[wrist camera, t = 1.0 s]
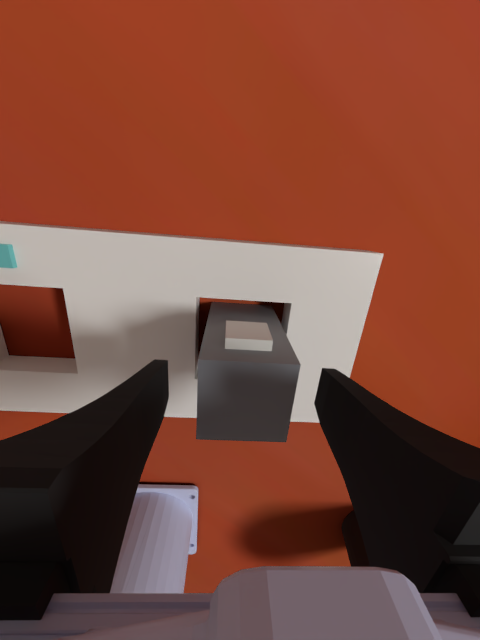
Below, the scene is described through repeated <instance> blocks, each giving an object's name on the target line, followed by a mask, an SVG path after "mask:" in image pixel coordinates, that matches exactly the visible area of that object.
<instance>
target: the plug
mask: <svg viewBox="0 0 480 640" xmlns="http://www.w3.org/2000/svg"><path fill="white" fill-rule="evenodd" d="M300 366H301V364H300V362H299V360H298V358H297V356H296V354H295V352H294V350H293V348H292V346H291V344H290V342H289V340H288V338H287V336H286V334H285V332H284V330H283V327H282V325H281V323H280V321H279V319H278V317H277V315H276V313H275V311H274V309H273V307H272V306H270V305H255V304H239V303H224V302H212V303H211V307H210V311H209V315H208V319H207V324H206V328H205V332H204V336H203V341H202V345H201V349H200V353H199V357H198V383H197V430H196V439H205V440H236V441H268V442H286V440H287V435H288V429H289V424H290V419H291V413H292V408H293V403H294V398H295V392H296V387H297V382H298V376H299V371H300Z"/></svg>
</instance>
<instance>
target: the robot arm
mask: <svg viewBox="0 0 480 640" xmlns="http://www.w3.org/2000/svg"><path fill="white" fill-rule="evenodd" d="M168 399H169V381H168V360H157V359H154V360H153V361H151V362H150V363H149V364H147V365H146V366H145V367H143V368H142V369H141V370H139V371H138V372H137V373H135V374H134V375H133V376H131V377H130V378H129V379H127V380H126V381H124V382H123V383H121V384H120V385H118V386H117V387H115V388H114V389H112V390H111V391H109V392H108V393H106V394H105V395H103V396H101V397H100V398H98V399H96V400H94V401H93V402H91V403H89V404H87V405H85V406H83V407H81V408H79V409H77V410H75V411H73V412H71V413H69V414H67V415H65V416H62V417H60V418H58V419H56V420H54V421H51V422H49V423H47V424H44V425H42V426H39V427H37V428H34V429H32V430H29V431H26V432H24V433H21V434H18V435H15V436H13V437H10V438H7V439H4V440H1V441H0V640H480V448H478V447H475V446H472V445H470V444H467V443H465V442H463V441H460V440H458V439H455V438H453V437H451V436H449V435H446V434H444V433H442V432H440V431H438V430H436V429H433V428H431V427H429V426H427V425H425V424H423V423H421V422H419V421H417V420H416V419H414V418H412V417H410V416H408V415H406V414H404V413H403V412H401V411H399V410H397V409H396V408H394V407H392V406H391V405H389V404H388V403H386V402H384V401H383V400H381V399H380V398H378V397H377V396H375V395H374V394H372V393H371V392H369V391H368V390H366V389H365V388H363V387H362V386H360V385H359V384H357V383H356V382H355V381H353V380H352V379H350V378H349V377H347V376H346V375H344V374H343V373H341V372H340V371H338V370H336V369H332V368H322V371H321V375H320V380H319V384H318V388H317V393H316V397H315V401H314V405H315V408H316V412H317V416H318V419H319V422H320V425H321V427H322V430H323V432H324V434H325V436H326V439H327V441H328V443H329V445H330V448H331V450H332V452H333V454H334V457H335V459H336V461H337V463H338V466H339V468H340V470H341V473H342V475H343V478H344V481H345V484H346V487H347V490H348V493H349V496H350V499H351V502H352V505H353V508H354V511H355V515H356V518H357V521H358V525H359V528H360V531H361V535H362V538H363V542H364V546H365V549H366V553H367V556H368V560H369V564H370V567H320V566H263V567H256V568H249V569H243V570H240V571H238V572H236V573H234V574H232V575H230V576H228V577H226V578H224V579H223V580H222V581H221V582H220V583H219V585H218V586H217V588H216V590H215V592H214V593H183V592H184V584H185V576H186V569H187V561H188V554H195V553H196V550H197V522H198V488H197V487H196V486H193V485H152V484H139V481H140V478H141V474H142V472H143V469H144V466H145V463H146V461H147V458H148V456H149V453H150V451H151V448H152V446H153V443H154V441H155V438H156V436H157V433H158V431H159V428H160V425H161V423H162V420H163V418H164V414H165V411H166V407H167V403H168Z"/></svg>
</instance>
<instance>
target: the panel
mask: <svg viewBox="0 0 480 640" xmlns="http://www.w3.org/2000/svg"><path fill="white" fill-rule="evenodd" d="M382 258H383V254H382V253H377V252H372V251H368V250H356V249H343V248H331V247H318V246H306V245H293V244H281V243H268V242H256V241H243V240H231V239H218V238H205V237H193V236H180V235H168V234H155V233H143V232H130V231H118V230H105V229H93V228H80V227H68V226H55V225H42V224H30V223H17V222H5V221H0V284H6V285H21V286H36V287H51V288H63V291H64V297H65V303H66V308H67V314H68V320H69V325H70V331H71V337H72V342H73V348H74V354H75V359H73V358H54V357H34V356H14V355H9V354H8V350H7V347H6V343H5V339H4V336H3V332H2V329H1V325H0V410H1V411H27V412H54V413H71V412H73V411H75V410H77V409H79V408H81V407H83V406H85V405H87V404H89V403H91V402H93V401H94V400H96V399H98V398H100V397H101V396H103V395H105V394H106V393H108V392H109V391H111V390H112V389H114V388H115V387H117V386H118V385H120V384H121V383H123V382H124V381H126V380H127V379H129V378H130V377H131V376H133V375H134V374H135V373H137V372H138V371H139V370H141V369H142V368H143V367H145V366H146V365H147V364H149V363H150V362H151V361H153V360H154V359H157V360H168V381H169V399H168V403H167V407H166V411H165V414H164V417H187V418H197V383H198V343H199V297H203V298H219V299H234V300H249V301H264V302H280V303H284V309H283V315H282V322H281V325H282V327H283V330H284V332H285V334H286V336H287V338H288V340H289V342H290V344H291V346H292V348H293V350H294V352H295V354H296V356H297V358H298V360H299V362H300V364H301V366H300V371H299V376H298V382H297V387H296V392H295V398H294V403H293V408H292V413H291V419H290V421H293V422H319V419H318V416H317V412H316V408H315V405H314V401H315V397H316V393H317V388H318V384H319V380H320V375H321V371H322V368H332V369H336V370H338V371H340V372H341V373H343V374H344V375H346V376H347V377H349V378H350V374H351V371H352V367H353V363H354V360H355V356H356V352H357V349H358V345H359V341H360V338H361V334H362V330H363V327H364V323H365V320H366V316H367V312H368V309H369V305H370V301H371V298H372V294H373V290H374V287H375V283H376V279H377V276H378V272H379V269H380V265H381V261H382ZM319 423H320V422H319Z"/></svg>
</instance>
